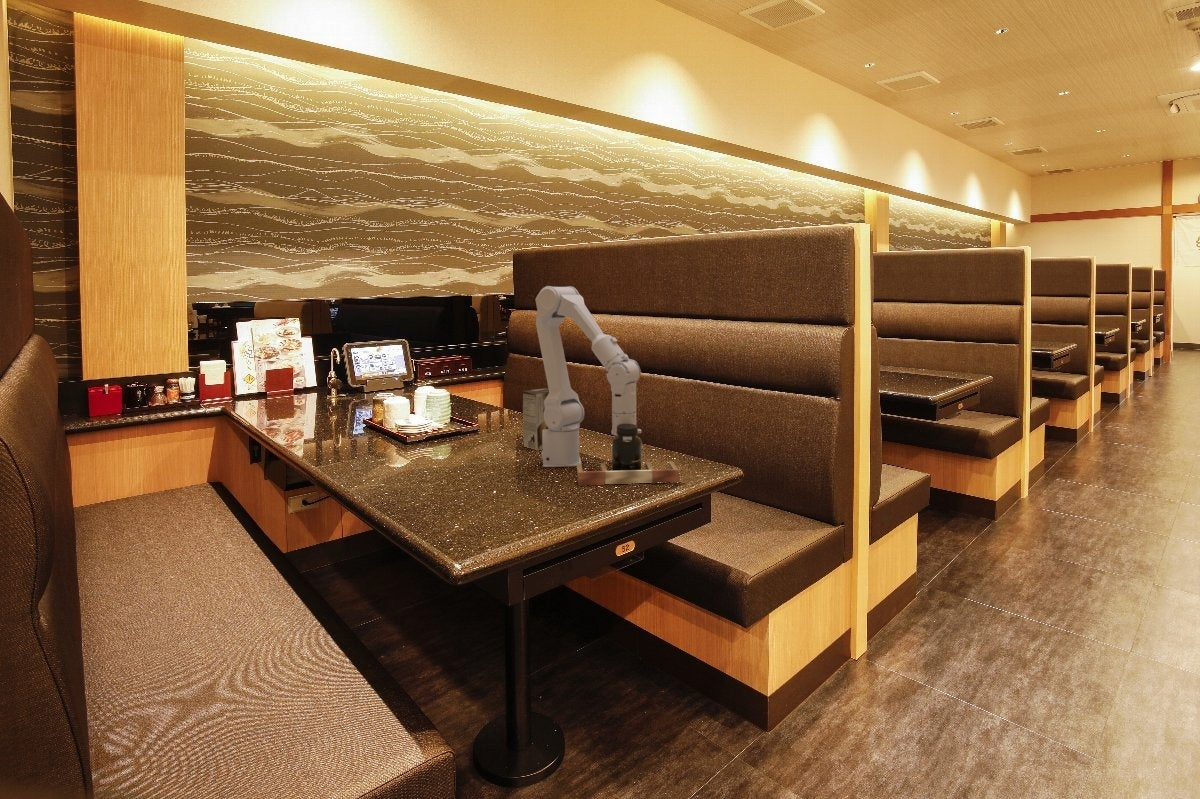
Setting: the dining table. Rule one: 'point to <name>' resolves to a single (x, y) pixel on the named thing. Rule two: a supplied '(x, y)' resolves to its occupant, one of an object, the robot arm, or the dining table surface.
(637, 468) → the supplement bottle
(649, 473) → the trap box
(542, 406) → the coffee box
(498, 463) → the dining table surface
